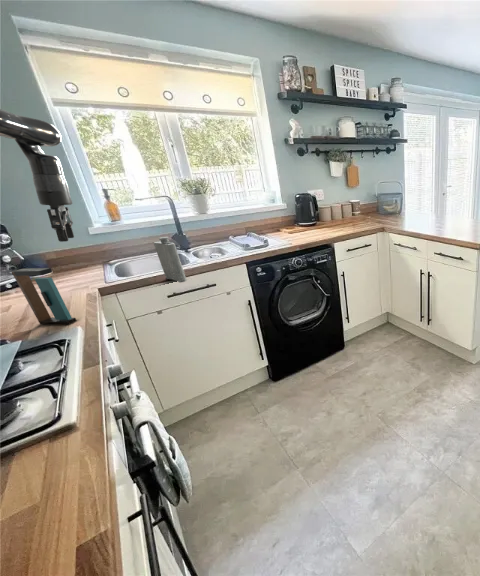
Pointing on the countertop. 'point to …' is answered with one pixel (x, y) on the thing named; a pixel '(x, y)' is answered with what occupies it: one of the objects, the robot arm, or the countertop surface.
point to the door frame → (36, 295)
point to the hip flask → (169, 260)
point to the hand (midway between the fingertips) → (67, 239)
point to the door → (53, 298)
